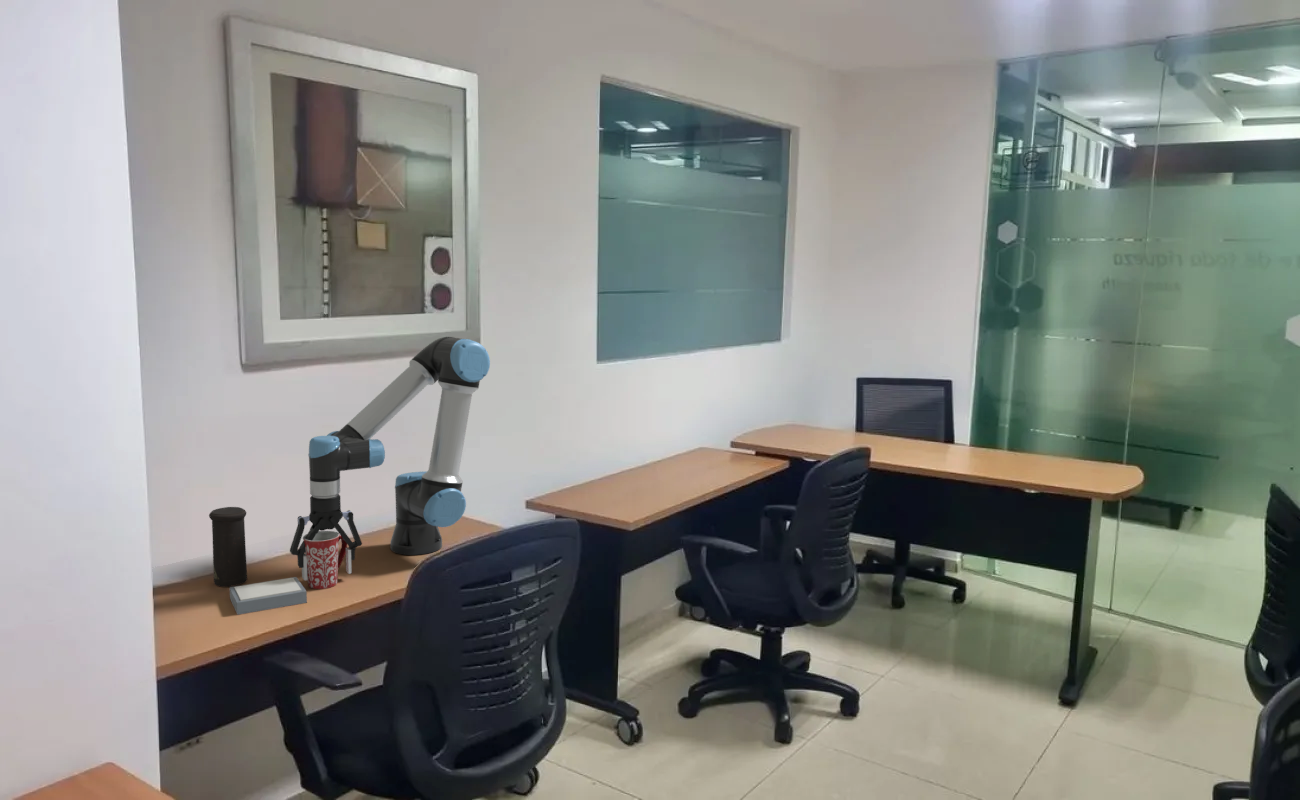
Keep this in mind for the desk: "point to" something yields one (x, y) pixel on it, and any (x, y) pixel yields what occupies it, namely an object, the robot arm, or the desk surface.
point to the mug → (324, 559)
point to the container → (229, 546)
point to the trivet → (267, 595)
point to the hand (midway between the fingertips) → (327, 575)
